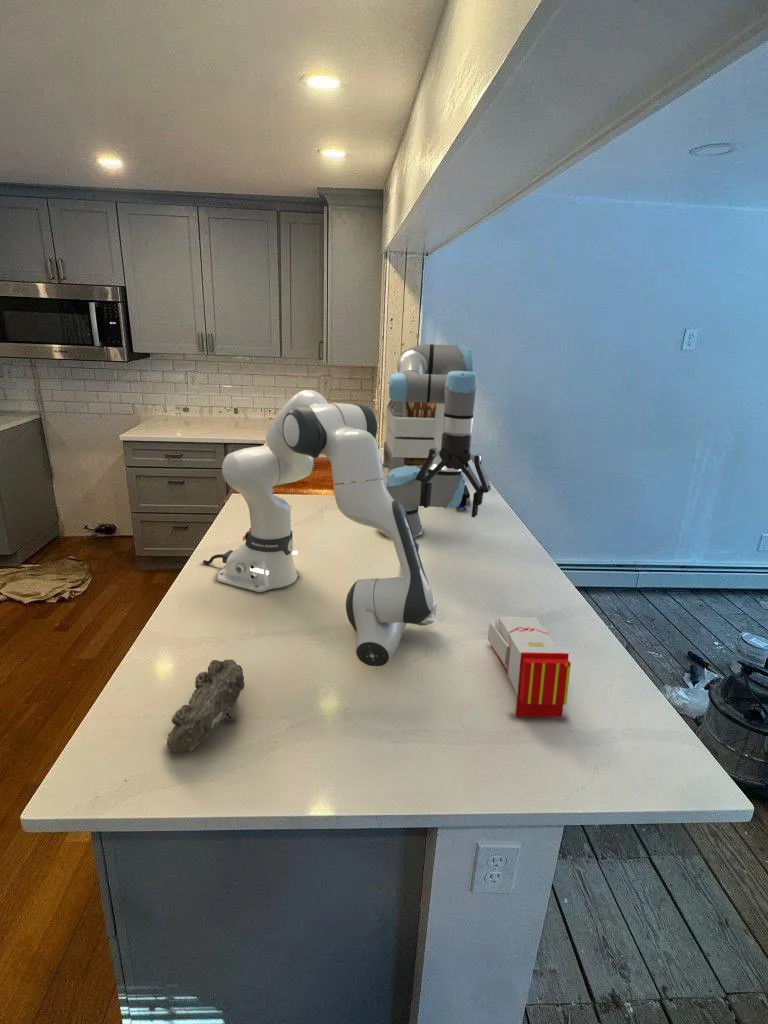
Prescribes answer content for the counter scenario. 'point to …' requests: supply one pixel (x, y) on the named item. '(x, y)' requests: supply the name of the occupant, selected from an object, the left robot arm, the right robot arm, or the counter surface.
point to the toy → (531, 665)
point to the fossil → (206, 705)
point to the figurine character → (465, 499)
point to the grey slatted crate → (408, 433)
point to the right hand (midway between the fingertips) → (450, 511)
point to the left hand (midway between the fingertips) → (400, 591)
